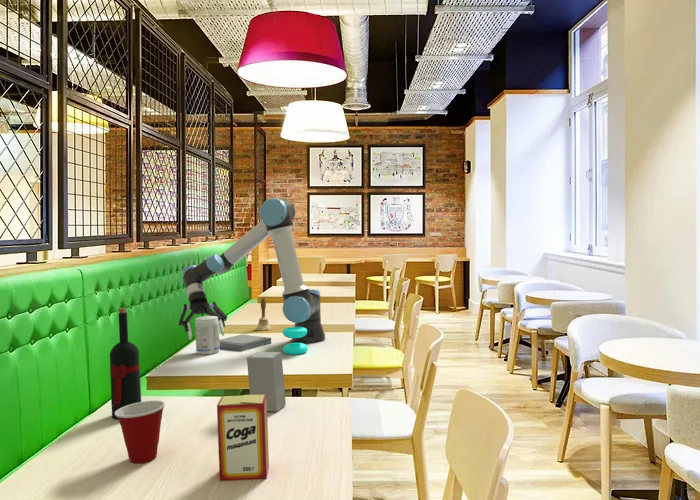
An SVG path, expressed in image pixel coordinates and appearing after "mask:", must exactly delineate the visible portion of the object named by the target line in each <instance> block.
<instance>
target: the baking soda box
mask: <svg viewBox="0 0 700 500" xmlns="http://www.w3.org/2000/svg"><path fill="white" fill-rule="evenodd" d="M216 410H217V411H216V415H217V417H216V418H217V439H218V440H217V441H218V445H217V446H218V466H219V467H218V469H219V470H218V471H219V473H218V474H219V482H229V481H231V482H233V481H250V480H252V481H253V480H267V478H268V473H269V467H270V459H269V458H270V457H269V455H270V454H269V425H268V422H269V421H268V411H267V394H266V395H250V394H244V395H226V396H225V395H223V396H221V398H220V399H219V401H218V403H217V405H216Z"/></svg>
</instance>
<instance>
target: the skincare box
mask: <svg viewBox="0 0 700 500" xmlns="http://www.w3.org/2000/svg"><path fill="white" fill-rule="evenodd" d="M246 364H247V365H246V367H247V375H248V387H249V395H266V394H267V412H276V413H277V412H278V411H280V410H281V409H283V408H284V407H286V405H287V401H286V392H285V391H286V390H285V378H284V365H283V357H282V351H281V352H279V351H277V352H272V351H271V352H269V351H268V352H267V351H265V352H264V351H256V352H254V353H253V354H251V355H249V356H247V357H246Z"/></svg>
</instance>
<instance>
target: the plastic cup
mask: <svg viewBox="0 0 700 500" xmlns="http://www.w3.org/2000/svg"><path fill="white" fill-rule="evenodd" d="M165 404H166V402H165V401H162V400H145V401H141V402H138V403H134V404H130V405H127V406H124V407H122V408H120V409H118V410H117V411H115V416H117V418H118V420H117V421H118V422H119V425H120V427H121V428H120V429H121V432H122V437H123V440H124V445H125V448H126V451H127V456H128V459H129V462H130V463H133V464H144V463H148V462H151V461H154V460H155V459H157V455H158V447H159V443H160V434H161V433H160V432H161V423H162V419H163V413H164V412H163V411H164V408H165Z"/></svg>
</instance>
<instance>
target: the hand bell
mask: <svg viewBox="0 0 700 500" xmlns="http://www.w3.org/2000/svg"><path fill="white" fill-rule="evenodd" d="M266 306H267V302H266V299H265V297H262V298H261V301H260V308H261V309H260V310H261V317H260V318H259V319H258V323H257V324H258V325H257V326H256V328H255V331H260V332H261V331H263V332H264V331H271V330H273V328H272V327H271V326H270V324H269V318H267V317H266Z"/></svg>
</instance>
